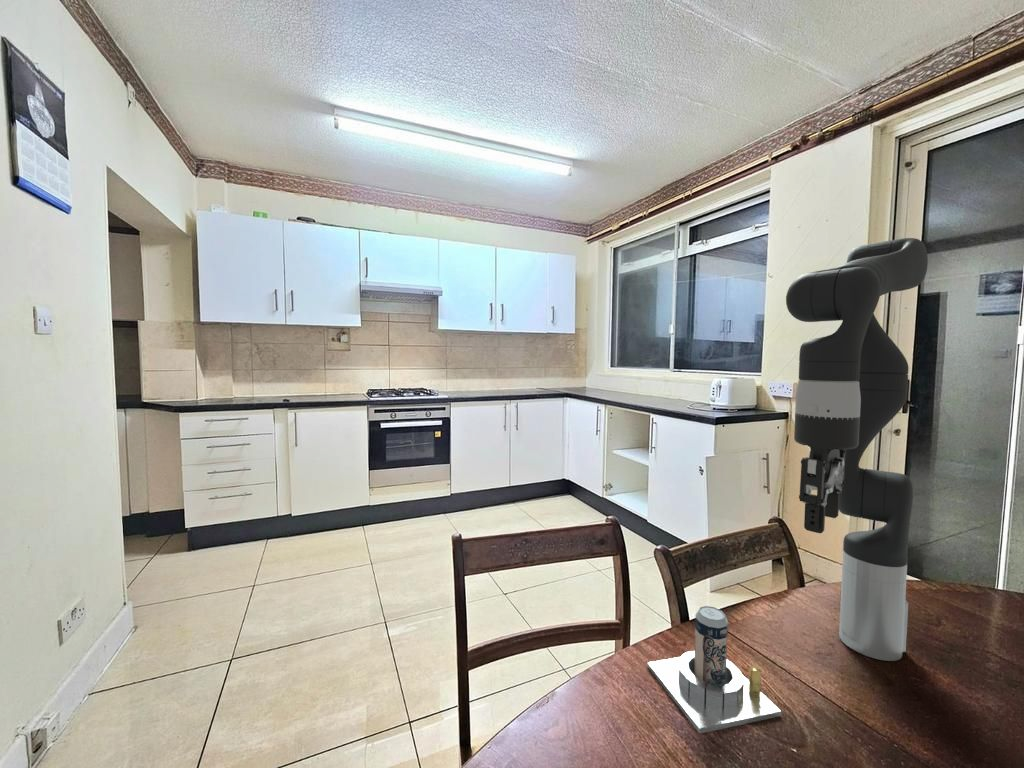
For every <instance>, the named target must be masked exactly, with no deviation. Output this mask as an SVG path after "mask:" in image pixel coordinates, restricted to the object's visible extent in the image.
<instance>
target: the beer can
mask: <svg viewBox="0 0 1024 768" xmlns="http://www.w3.org/2000/svg"><path fill="white" fill-rule="evenodd" d="M694 622H695V624H694V626H695V627H694V629H695V630H694V651H695V656H694V676H695V677H696V678H698V679H700V680H702V681H704V682H706V683H709V684H714V685H719V686H720V685H725V684H726V666H727V657H728V628H729V625H728V624H729V620H728V619H727V616H726V614H725V613H724V612H723V611H722V609H719V608H716V607H715V606H710V605H708V606H707V605H705V606H699V608H698V610H697V611H696V613H695V621H694Z"/></svg>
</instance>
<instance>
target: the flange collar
mask: <svg viewBox="0 0 1024 768" xmlns="http://www.w3.org/2000/svg"><path fill="white" fill-rule="evenodd" d="M694 656H695V650H690V651H685V652H684V653H683V654H681V656H678V657H673V658H668V659H660V660H656V661H655V660H654V661H649V662H647V668H648V669H649V671H650V672H651V674H653V676H654V677H655V678H656V680H657V681H658V682H659V684H660V685H661V686H662V687H663V688H664V690H665V691H666V692H667V694H668V696H669V697H670V698H671V699H672V700H673V701H674V703H675V704H676V706H678V709H680V710H681V712H682V713H683V714H684V715H685V717H686V718H687V719H688V721H689V722H690V723H691V725H692V727H694V729H695V730H696V731H697V733H698V734H699V735H700V734H705V733H710V732H715V731H718V730H723V729H728V728H732V727H733V728H734V727H737V726H741V725H742V726H743V725H746V724H750V723H751V724H752V723H757V722H760V721H765V720H769V719H770V720H771V719H774V718H779V717H782V710H781V709H780V708H779V707H778V706H777V705H776V704H774V703H773V701H771V700H770V698H768V697H767V696H766V695H765V694H764V693H763V692H761V683H762V682H761V680H762V671H761V669H760V668H759V667H758V666H754V665H752V666H751V665H750V666H749V668H748V669H749V671H748V673H749V674H748V678H747V677H746V676H745V675H744V674H742V671H741V669H739V668H738V667H737V666H736V665H735V664H734V663H733V662H732V661H731V660H729V659H727V666H726V684H725V685H720V686H719V685H714V684H709V683H706V682H704V681H702V680H700V679H698V678H696V677H695V676H694Z"/></svg>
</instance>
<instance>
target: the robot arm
mask: <svg viewBox="0 0 1024 768" xmlns="http://www.w3.org/2000/svg"><path fill="white" fill-rule="evenodd" d="M928 263H929V262H928V251H927V247H926V245H925V243H924V242H923V241H922V240H920V239H919V238H916V237H905V238H897V239H892V240H885V241H880V242H879V241H878V242H874V243H869V244H867V243H866V244H862V245H859V246H856V247H854V248H852V249H851V250H850V252H849V254H848V256H847V260H846V263H843V264H841V265H838V266H836V267H832V268H828V269H822V270H821V269H820V270H816V271H811V272H807V273H803V274H800V275H799V276H798V277H796V278H795V279H794V280H793V281H792V283H791V284H790V286H789V287H788V289H787V292H786V296H785V304H786V308H787V311H788V312H789V314H790V316H792V317H793V318H795V319H796V320H798V321H800V322H805V323H819V322H833V321H842V322H841V323H840V325H839V326H838V328H837V329H836V331H834V333H832V334H828V335H825V336H822V337H816V338H811V339H809V340H806V341H804V342H803V343H801V345H800V347H799V357H798V361H799V362H798V364H799V365H798V380H797V381H798V382H797V388H796V393H795V407H794V408H795V409H794V410H795V411H794V429H793V430H794V431H793V439H794V442H795V443H797V444H799V445H802V446H807V447H809V448H810V451H809V456H807V457H802V459H801V460H800V466H801V467H800V483H799V495H798V498H799V502H802V503H803V504H804V518H803V519H804V520H803V522H804V524H803V525H804V526H803V527H804V529H805V530H806V531H807V532H808V531H809V532H813V533H816V534H822V533H823V532H824V531H825V525H826V524H825V522H826V518H832V519H836V518H838V516H839V513H841V514H843V515H845V516H850V517H854V518H858V519H866V520H868V521H869V520H870V521H876V522H880V523H885V525H883V526H881V527H878V528H875V529H871V530H862V531H861V530H859V531H852V532H848V533H847V534H845V536H844V537H843V543H842V563H841V564H842V567H841V569H842V570H841V589H840V592H841V593H840V608H839V609H840V611H839V626H838V627H839V629H838V630H839V631H838V632H839V633H838V637H839V639H840V640H841V641H842V643H844V645H845V646H847V647H849V648H850V649H852V650H853V651H854V652H857V653H859V654H861V655H863V656H865V657H869V658H872V659H876V660H879V661H886V662H896V661H900V660H901V659H902V658H903V653H905V652H906V650H907V637H908V636H907V632H908V617H909V616H908V613H909V602H908V600H906V596H907V595H906V594H907V593H906V592H907V577H908V576H907V574H908V552H909V551H908V550H909V548H908V547H909V546H908V545H909V531H910V524H911V515H912V510H913V501H914V487H913V483H912V480H911V479H910V477H909V476H908V475H906V474H904V473H899V472H893V471H885V470H876V469H869V468H861V467H860V466H859V465H860V462H861V459H862V457H863V455H864V453H865V451H866V449H867V448H868V447H869V446H870V444H871V443H872V441H873V440H874V439H875V437H876V436H877V435H879V433H880V432H881V431H882V430H883V428H884V429H885V427H886V426H887V425H888V424H889V423H890V422H891V421H892V420H893V419H894V418H895V417H896V415H898V413H899V412H900V411H901V409H902V408H903V407H904V405H905V403H906V402H907V399H908V388H909V386H908V385H909V368H910V367H909V363H908V360H907V358H906V357H905V355H904V353H903V352H902V351H901V350H900V348H899V347H898V346H897V344H896V343H895V342H894V340H893V339H891V338H890V336H889V335H888V333H887V332H886V331H885V330H884V329H883V327H882V326H881V324H880V323H879V321H878V320H877V317H876V316H875V311H876V309H877V306H878V303H879V300H880V297H881V296H884V295H887V294H889V293H891V292H893V293H894V292H901V291H906V290H907V291H908V290H910V289H913V288H916V287H918V286H920V285H921V283H923V281H924V279H925V277H926V274H927V271H928V265H929V264H928ZM812 491H817V492H816V494H812Z"/></svg>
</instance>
